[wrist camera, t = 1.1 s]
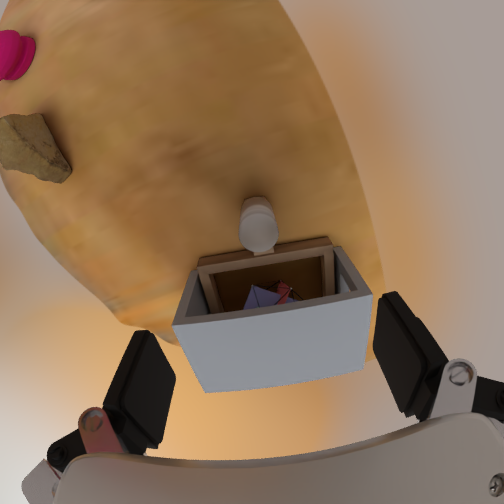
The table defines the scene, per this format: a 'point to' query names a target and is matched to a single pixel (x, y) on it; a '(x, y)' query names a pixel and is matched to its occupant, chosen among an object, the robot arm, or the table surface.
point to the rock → (31, 148)
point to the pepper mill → (15, 54)
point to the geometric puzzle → (268, 296)
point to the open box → (276, 335)
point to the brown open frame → (263, 251)
